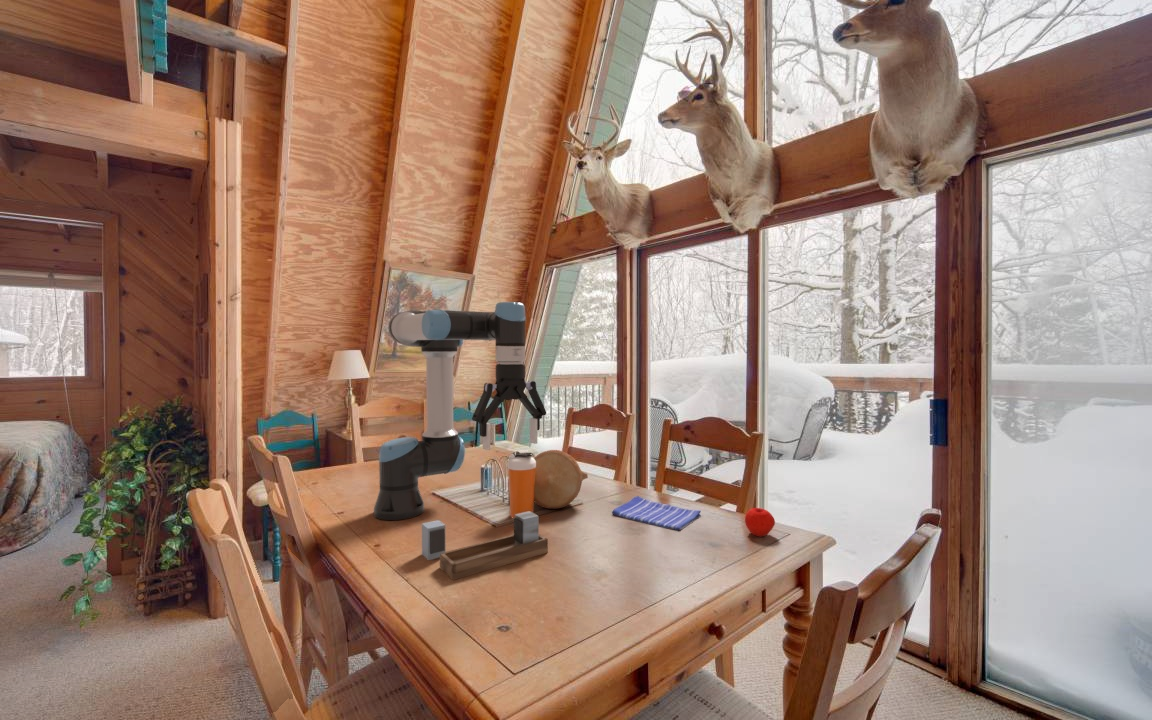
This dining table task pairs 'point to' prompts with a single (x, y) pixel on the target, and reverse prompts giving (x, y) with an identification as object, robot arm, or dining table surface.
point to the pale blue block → (433, 539)
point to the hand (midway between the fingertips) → (510, 446)
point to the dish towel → (656, 513)
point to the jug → (556, 479)
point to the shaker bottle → (521, 482)
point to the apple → (759, 521)
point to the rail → (497, 549)
